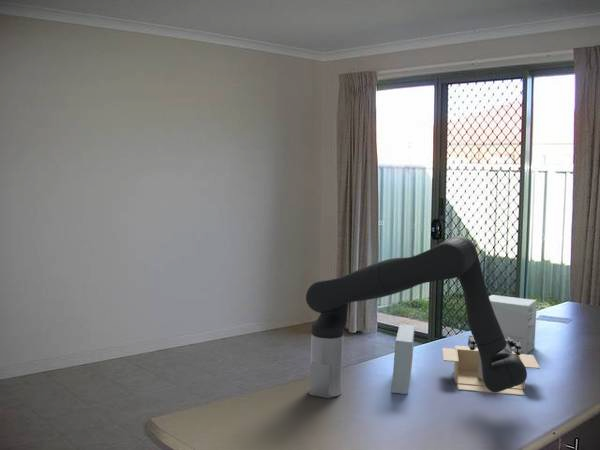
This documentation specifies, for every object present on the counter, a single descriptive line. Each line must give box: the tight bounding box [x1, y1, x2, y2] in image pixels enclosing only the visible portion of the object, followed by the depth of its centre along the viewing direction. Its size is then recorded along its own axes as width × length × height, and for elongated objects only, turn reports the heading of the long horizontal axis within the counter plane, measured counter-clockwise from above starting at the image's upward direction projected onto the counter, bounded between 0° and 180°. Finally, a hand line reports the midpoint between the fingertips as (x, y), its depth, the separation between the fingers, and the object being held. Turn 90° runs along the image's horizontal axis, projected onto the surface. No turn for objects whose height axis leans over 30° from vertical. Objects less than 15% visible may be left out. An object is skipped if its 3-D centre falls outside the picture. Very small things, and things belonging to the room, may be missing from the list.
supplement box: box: [488, 294, 538, 355], centre depth 249 cm, size 17×13×18 cm
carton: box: [442, 345, 541, 397], centre depth 211 cm, size 22×28×8 cm
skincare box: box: [390, 323, 415, 395], centre depth 207 cm, size 21×5×16 cm, turn 168°
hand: (492, 338), depth 199 cm, fingers open, 8 cm apart
